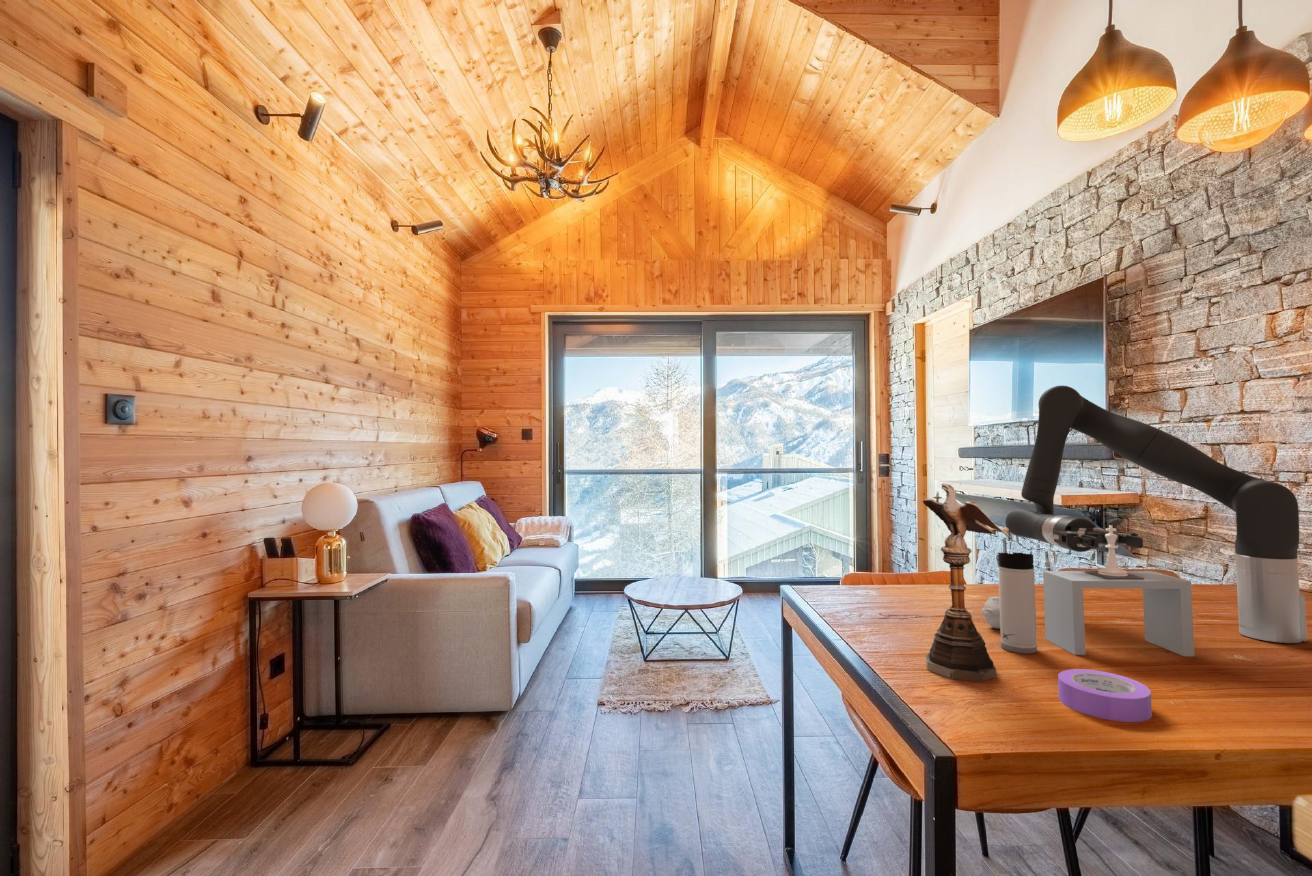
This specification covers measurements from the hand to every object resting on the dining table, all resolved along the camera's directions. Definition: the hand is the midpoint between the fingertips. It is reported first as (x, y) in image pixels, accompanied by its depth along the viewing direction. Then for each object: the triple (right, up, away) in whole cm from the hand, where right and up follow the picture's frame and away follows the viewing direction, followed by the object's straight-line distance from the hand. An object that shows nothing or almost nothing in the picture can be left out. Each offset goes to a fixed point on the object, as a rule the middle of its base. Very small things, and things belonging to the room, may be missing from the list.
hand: (1118, 543), depth 118 cm
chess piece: (0, -7, +2) cm, 7 cm away
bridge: (0, -22, +1) cm, 22 cm away
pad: (0, -7, +2) cm, 7 cm away
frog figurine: (-15, -22, +16) cm, 31 cm away
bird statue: (-35, -22, -8) cm, 42 cm away
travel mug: (-20, -22, +1) cm, 30 cm away
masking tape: (-23, -21, -26) cm, 41 cm away
